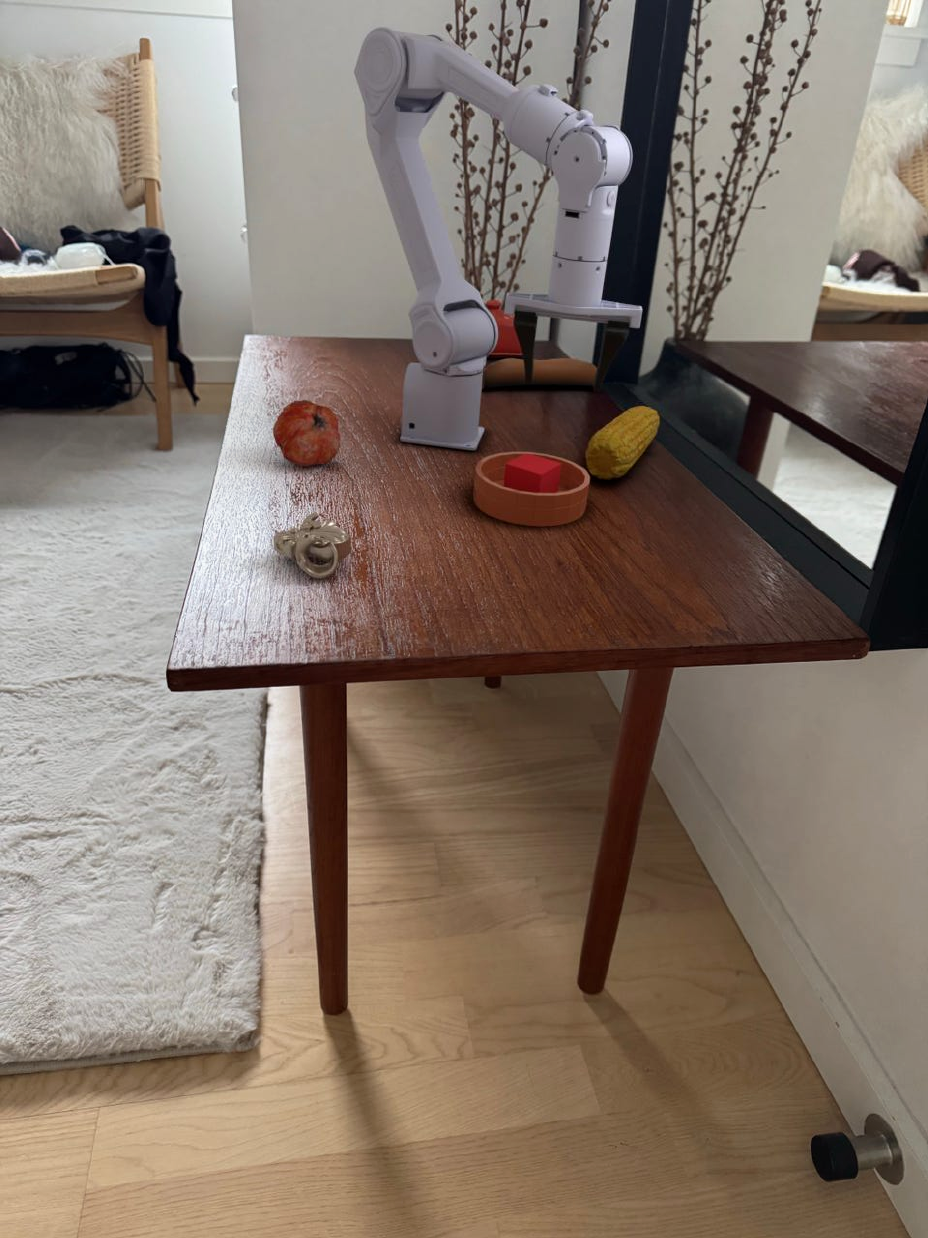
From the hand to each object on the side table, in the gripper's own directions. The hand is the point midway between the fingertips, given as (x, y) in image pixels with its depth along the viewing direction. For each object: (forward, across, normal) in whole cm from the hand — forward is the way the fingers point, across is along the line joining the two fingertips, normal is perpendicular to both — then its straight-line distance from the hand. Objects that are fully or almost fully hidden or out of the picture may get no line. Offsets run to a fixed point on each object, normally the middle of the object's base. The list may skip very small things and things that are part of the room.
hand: (562, 386), depth 99 cm
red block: (+10, +2, +10) cm, 14 cm away
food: (+10, -8, -7) cm, 15 cm away
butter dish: (+10, +12, -52) cm, 54 cm away
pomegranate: (+10, +28, +6) cm, 30 cm away
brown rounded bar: (+10, +4, -35) cm, 37 cm away
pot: (+10, +2, +10) cm, 14 cm away
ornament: (+10, +21, +29) cm, 37 cm away
